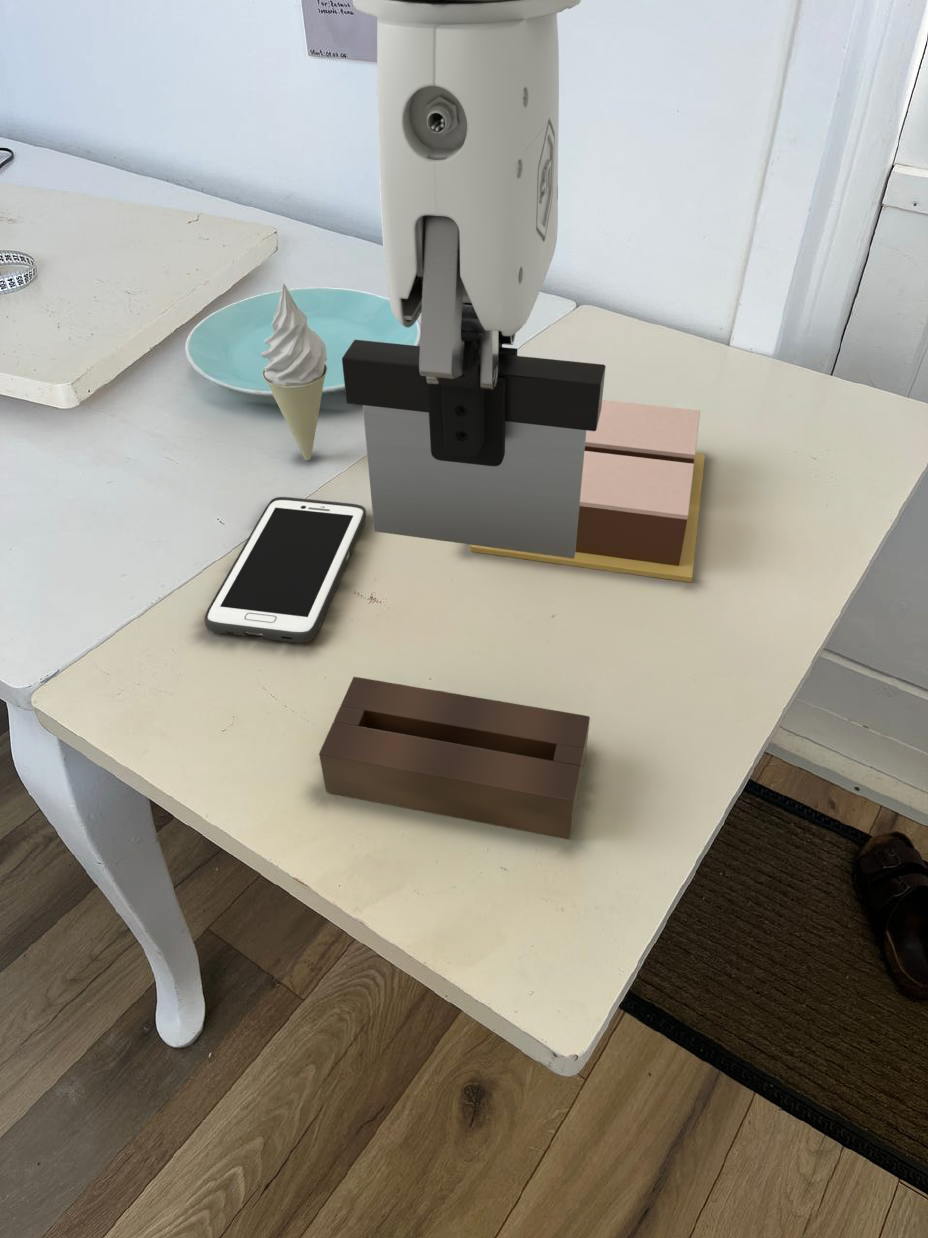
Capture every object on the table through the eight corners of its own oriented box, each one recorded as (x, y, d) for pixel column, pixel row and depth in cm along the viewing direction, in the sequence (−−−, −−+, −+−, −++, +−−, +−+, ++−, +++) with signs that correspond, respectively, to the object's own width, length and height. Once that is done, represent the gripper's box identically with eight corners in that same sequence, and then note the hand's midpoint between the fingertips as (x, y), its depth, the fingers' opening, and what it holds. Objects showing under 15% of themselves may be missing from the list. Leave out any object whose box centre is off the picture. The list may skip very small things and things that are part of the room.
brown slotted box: (585, 755, 56) (590, 715, 53) (569, 840, 52) (573, 801, 49) (358, 715, 58) (353, 675, 56) (325, 792, 54) (318, 753, 52)
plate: (251, 300, 102) (246, 274, 100) (450, 322, 97) (449, 295, 95) (146, 404, 86) (139, 375, 84) (378, 436, 82) (375, 407, 80)
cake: (704, 458, 78) (714, 405, 75) (691, 582, 67) (702, 526, 64) (513, 436, 81) (514, 383, 78) (470, 551, 70) (469, 495, 66)
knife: (587, 546, 46) (605, 363, 40) (582, 569, 45) (600, 384, 38) (370, 517, 48) (354, 338, 42) (360, 538, 47) (341, 357, 40)
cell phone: (201, 633, 64) (198, 622, 63) (274, 504, 74) (272, 494, 74) (312, 647, 63) (310, 636, 62) (370, 514, 73) (369, 504, 72)
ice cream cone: (349, 462, 79) (329, 286, 68) (294, 483, 77) (265, 304, 66) (320, 436, 82) (297, 263, 72) (267, 455, 80) (235, 280, 69)
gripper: (542, -2, 24) (525, 564, 36) (612, -88, 35) (581, 367, 48) (262, -7, 25) (339, 540, 38) (416, -89, 37) (436, 354, 49)
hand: (474, 441), depth 43 cm, fingers closed on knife, 2 cm apart
